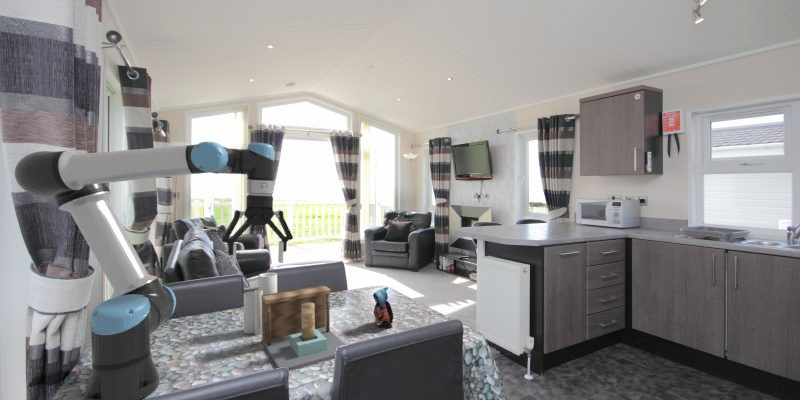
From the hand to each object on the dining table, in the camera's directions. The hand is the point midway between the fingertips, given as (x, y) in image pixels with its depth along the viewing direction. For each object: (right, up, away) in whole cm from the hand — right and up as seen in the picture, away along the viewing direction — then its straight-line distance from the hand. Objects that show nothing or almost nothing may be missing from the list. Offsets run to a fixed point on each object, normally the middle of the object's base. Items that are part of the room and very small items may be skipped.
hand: (257, 264), depth 109 cm
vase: (-7, -28, +20) cm, 35 cm away
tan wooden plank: (+8, -28, +14) cm, 32 cm away
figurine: (+37, -28, +25) cm, 53 cm away
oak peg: (+14, -28, +4) cm, 31 cm away
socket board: (+13, -28, +7) cm, 32 cm away
